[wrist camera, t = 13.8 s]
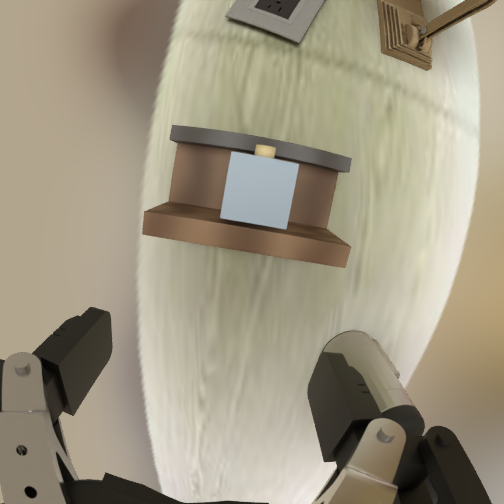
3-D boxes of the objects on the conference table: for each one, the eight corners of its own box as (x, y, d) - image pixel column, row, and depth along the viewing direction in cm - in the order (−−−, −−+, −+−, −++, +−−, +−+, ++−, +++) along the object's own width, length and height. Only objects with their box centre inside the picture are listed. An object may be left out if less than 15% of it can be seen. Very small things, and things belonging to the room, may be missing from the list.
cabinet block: (283, 158, 29) (301, 151, 19) (273, 211, 31) (286, 229, 21) (237, 149, 29) (234, 138, 19) (227, 203, 30) (219, 218, 21)
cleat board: (327, 161, 34) (370, 156, 21) (312, 235, 37) (345, 268, 24) (188, 135, 33) (159, 116, 20) (176, 212, 35) (142, 234, 23)
